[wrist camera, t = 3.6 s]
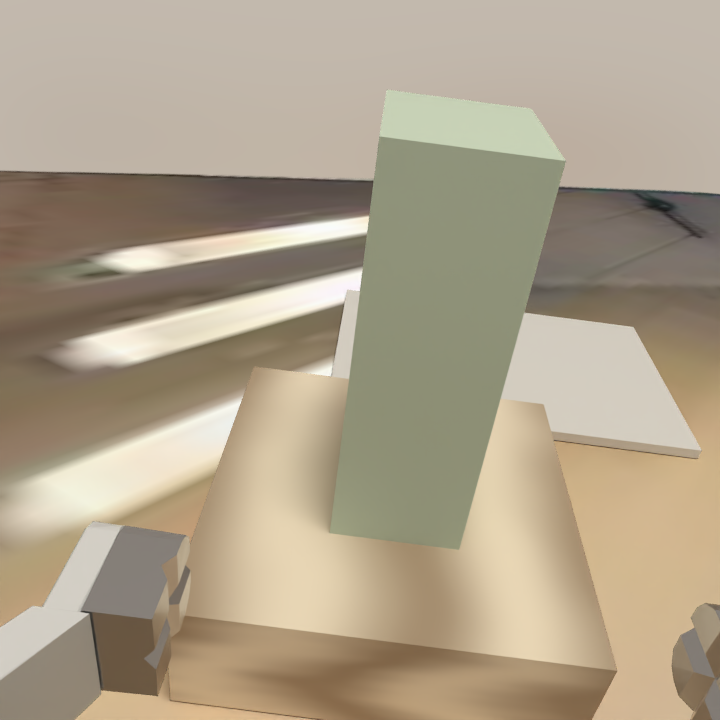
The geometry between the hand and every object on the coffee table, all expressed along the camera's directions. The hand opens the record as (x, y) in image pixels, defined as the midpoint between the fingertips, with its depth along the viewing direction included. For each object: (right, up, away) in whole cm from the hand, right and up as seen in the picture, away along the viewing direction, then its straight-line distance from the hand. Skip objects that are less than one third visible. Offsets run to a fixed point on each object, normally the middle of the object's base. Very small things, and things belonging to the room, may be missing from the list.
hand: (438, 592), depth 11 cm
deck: (0, -4, +14) cm, 15 cm away
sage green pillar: (0, 0, +12) cm, 12 cm away
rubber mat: (+6, +3, +27) cm, 28 cm away
